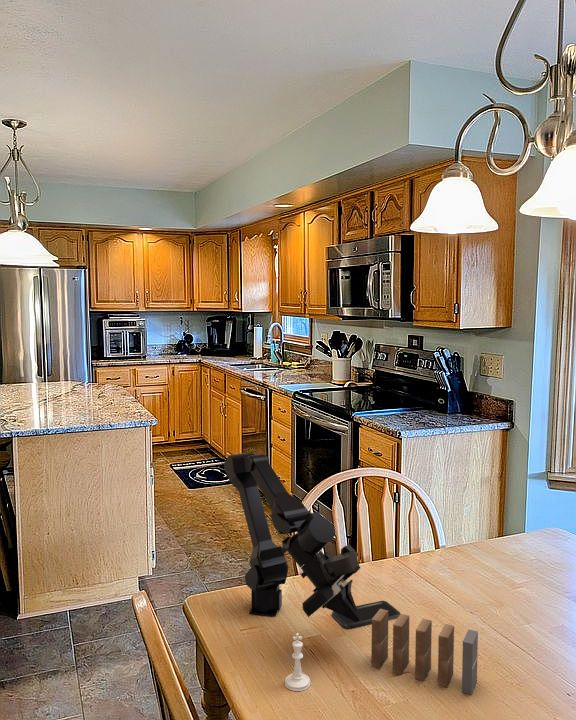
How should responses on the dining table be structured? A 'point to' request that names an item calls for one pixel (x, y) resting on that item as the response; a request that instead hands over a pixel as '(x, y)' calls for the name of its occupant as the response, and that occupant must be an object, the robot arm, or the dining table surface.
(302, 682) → the chess piece
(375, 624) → the domino
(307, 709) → the dining table surface
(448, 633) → the domino
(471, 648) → the domino
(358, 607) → the phone
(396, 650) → the domino
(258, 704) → the dining table surface
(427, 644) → the domino
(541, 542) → the dining table surface
